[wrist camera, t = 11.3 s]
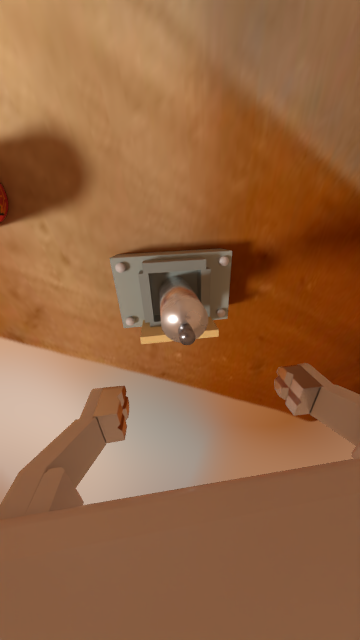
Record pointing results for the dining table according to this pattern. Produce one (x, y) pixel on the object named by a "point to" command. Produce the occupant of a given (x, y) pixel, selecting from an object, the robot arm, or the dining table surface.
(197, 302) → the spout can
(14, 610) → the robot arm
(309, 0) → the dining table surface
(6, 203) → the canned food
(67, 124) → the dining table surface
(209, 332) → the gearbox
